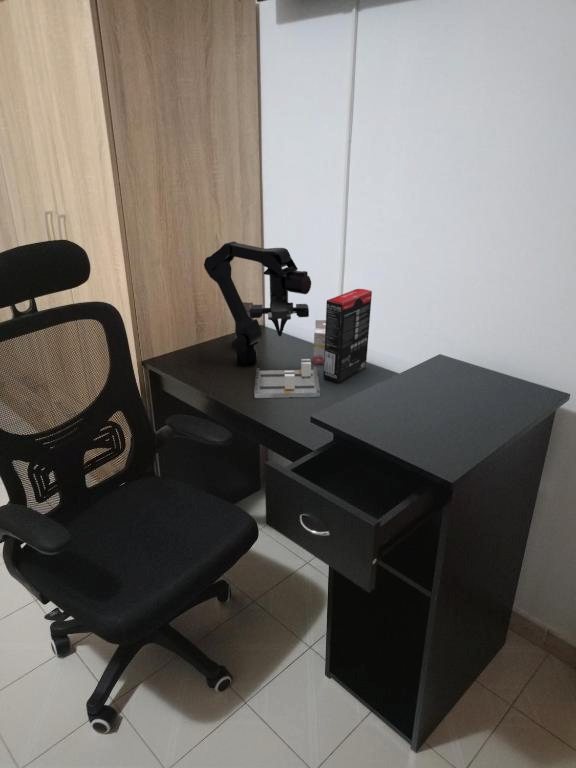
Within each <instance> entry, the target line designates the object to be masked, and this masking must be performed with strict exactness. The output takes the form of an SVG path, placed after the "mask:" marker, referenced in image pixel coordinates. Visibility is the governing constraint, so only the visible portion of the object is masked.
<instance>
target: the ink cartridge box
mask: <svg viewBox="0 0 576 768" xmlns="http://www.w3.org/2000/svg"><path fill="white" fill-rule="evenodd" d="M325 328H326V319H316V320H315V328H314V335H313V365H315V364H317V365H324V350H325Z"/></svg>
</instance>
